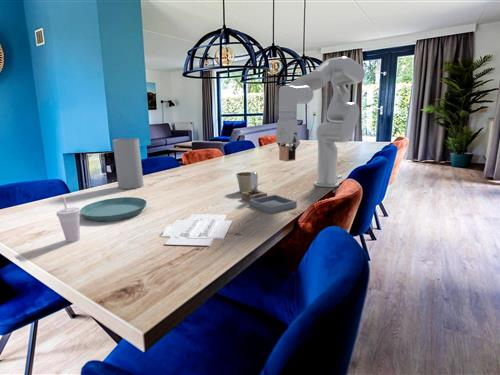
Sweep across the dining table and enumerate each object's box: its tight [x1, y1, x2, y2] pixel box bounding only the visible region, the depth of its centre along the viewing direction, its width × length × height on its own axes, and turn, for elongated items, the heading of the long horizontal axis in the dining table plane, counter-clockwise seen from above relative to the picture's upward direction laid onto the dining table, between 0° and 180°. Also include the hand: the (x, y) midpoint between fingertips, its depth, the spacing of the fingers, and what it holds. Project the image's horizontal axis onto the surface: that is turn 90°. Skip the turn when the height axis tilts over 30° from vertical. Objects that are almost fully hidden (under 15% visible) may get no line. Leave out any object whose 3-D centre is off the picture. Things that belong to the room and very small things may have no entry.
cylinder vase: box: [112, 137, 144, 190], centre depth 165 cm, size 12×12×25 cm
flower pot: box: [235, 171, 252, 193], centre depth 152 cm, size 9×9×9 cm
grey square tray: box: [249, 194, 298, 214], centre depth 129 cm, size 14×14×2 cm
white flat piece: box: [160, 213, 234, 247], centre depth 106 cm, size 20×28×4 cm
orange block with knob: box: [278, 145, 297, 162], centre depth 138 cm, size 5×5×6 cm
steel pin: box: [251, 171, 259, 195], centre depth 138 cm, size 3×3×12 cm
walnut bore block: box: [241, 190, 268, 203], centre depth 139 cm, size 8×8×3 cm
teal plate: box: [79, 196, 147, 222], centre depth 125 cm, size 24×24×3 cm
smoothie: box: [56, 196, 81, 243], centre depth 97 cm, size 6×6×14 cm
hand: (287, 158), depth 139 cm, fingers closed on orange block with knob, 5 cm apart
